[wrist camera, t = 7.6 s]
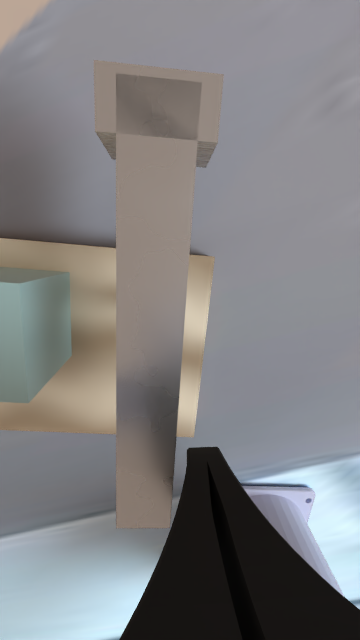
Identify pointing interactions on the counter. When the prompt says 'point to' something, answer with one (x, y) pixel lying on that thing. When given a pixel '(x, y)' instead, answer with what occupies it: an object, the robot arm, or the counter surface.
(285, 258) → the counter surface
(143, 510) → the latch
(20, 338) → the pale green block
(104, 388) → the tan flat wooden board
